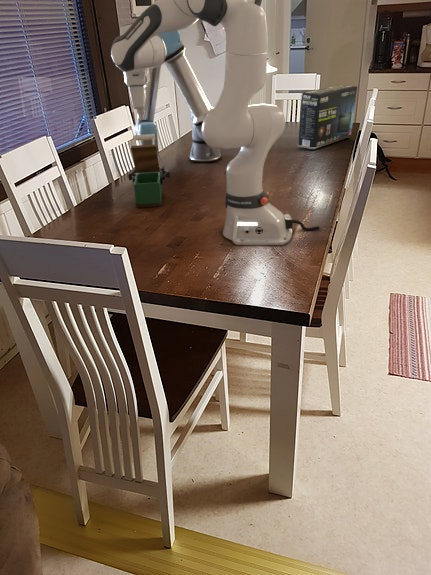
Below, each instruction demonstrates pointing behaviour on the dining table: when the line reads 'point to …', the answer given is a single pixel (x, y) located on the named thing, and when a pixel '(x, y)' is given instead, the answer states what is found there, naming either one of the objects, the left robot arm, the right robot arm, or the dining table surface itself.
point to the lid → (145, 155)
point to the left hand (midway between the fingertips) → (148, 181)
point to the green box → (148, 189)
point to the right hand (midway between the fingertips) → (141, 118)
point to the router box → (326, 115)
